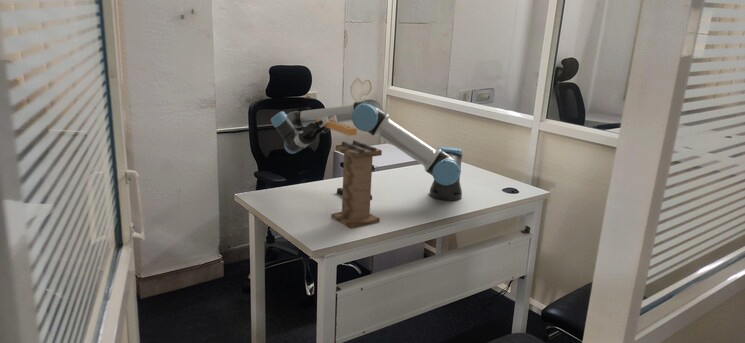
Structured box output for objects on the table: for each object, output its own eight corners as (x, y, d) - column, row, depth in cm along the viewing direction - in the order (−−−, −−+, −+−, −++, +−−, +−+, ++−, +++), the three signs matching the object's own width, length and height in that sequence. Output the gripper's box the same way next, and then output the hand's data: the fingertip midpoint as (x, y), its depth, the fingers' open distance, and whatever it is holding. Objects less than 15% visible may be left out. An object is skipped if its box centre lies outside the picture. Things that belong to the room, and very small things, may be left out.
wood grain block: (316, 124, 227) (316, 118, 227) (323, 123, 229) (323, 117, 229) (349, 135, 209) (349, 129, 209) (356, 134, 211) (356, 128, 211)
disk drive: (336, 194, 250) (353, 203, 238) (336, 188, 249) (353, 197, 238) (355, 191, 256) (372, 200, 244) (355, 185, 255) (373, 194, 243)
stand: (331, 217, 220) (333, 142, 211) (359, 211, 228) (362, 139, 219) (351, 228, 209) (354, 150, 200) (379, 222, 217) (383, 146, 209)
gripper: (323, 142, 244) (350, 125, 225) (291, 146, 234) (316, 129, 215) (319, 127, 245) (345, 108, 226) (287, 130, 235) (311, 111, 216)
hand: (331, 118), depth 221 cm, fingers closed on wood grain block, 3 cm apart
